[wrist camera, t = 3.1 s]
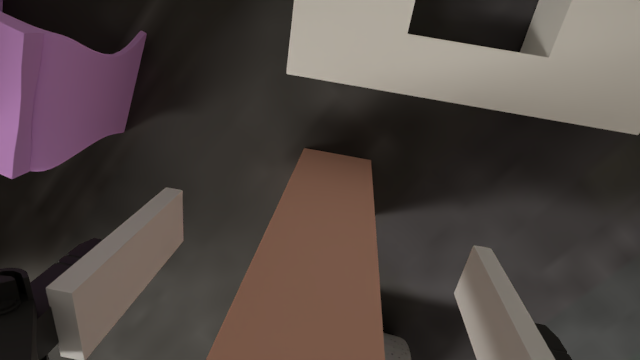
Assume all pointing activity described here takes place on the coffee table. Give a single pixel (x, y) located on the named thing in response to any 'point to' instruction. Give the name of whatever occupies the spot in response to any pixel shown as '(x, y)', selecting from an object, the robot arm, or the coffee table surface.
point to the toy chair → (58, 95)
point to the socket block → (483, 59)
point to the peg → (312, 272)
